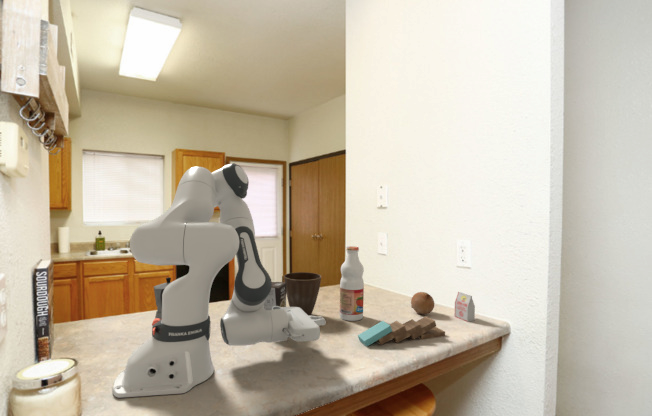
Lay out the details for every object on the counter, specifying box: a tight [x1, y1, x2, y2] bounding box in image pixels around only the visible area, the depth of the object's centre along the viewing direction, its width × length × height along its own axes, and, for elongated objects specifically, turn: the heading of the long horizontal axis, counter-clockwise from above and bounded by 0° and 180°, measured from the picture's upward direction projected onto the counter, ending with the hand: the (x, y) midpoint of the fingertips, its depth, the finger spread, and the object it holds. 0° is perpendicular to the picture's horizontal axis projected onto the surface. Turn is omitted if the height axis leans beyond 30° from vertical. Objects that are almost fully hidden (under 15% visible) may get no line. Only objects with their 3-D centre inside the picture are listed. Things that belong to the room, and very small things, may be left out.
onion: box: [410, 291, 435, 315], centre depth 140 cm, size 10×9×10 cm
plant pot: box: [283, 271, 322, 316], centre depth 134 cm, size 15×15×16 cm
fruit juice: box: [339, 246, 365, 322], centre depth 133 cm, size 9×9×28 cm
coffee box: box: [264, 281, 287, 310], centre depth 118 cm, size 9×6×16 cm
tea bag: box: [454, 291, 476, 323], centre depth 134 cm, size 4×7×10 cm, turn 22°
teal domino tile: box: [357, 320, 392, 348], centre depth 108 cm, size 2×5×10 cm
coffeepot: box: [153, 276, 172, 320], centre depth 115 cm, size 15×9×18 cm, turn 14°
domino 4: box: [417, 326, 446, 340], centre depth 116 cm, size 2×5×10 cm
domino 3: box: [408, 315, 437, 340], centre depth 114 cm, size 2×5×10 cm
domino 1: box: [375, 320, 406, 346], centre depth 110 cm, size 2×5×10 cm
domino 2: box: [391, 319, 422, 344], centre depth 112 cm, size 2×5×10 cm
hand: (323, 320), depth 102 cm, fingers closed
